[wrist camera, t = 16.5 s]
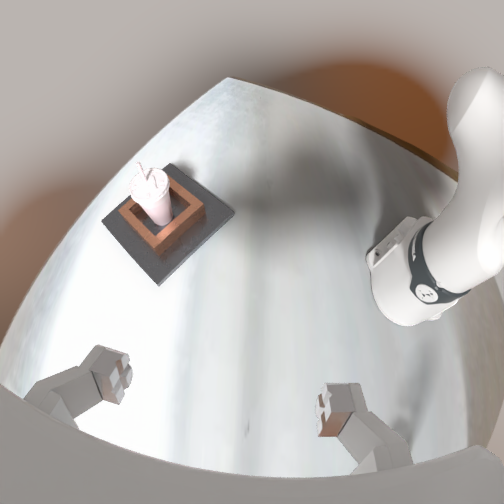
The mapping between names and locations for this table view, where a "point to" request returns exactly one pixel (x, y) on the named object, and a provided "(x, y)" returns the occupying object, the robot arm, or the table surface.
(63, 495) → the robot arm
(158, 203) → the smoothie
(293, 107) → the table surface
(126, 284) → the table surface
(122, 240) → the mount
